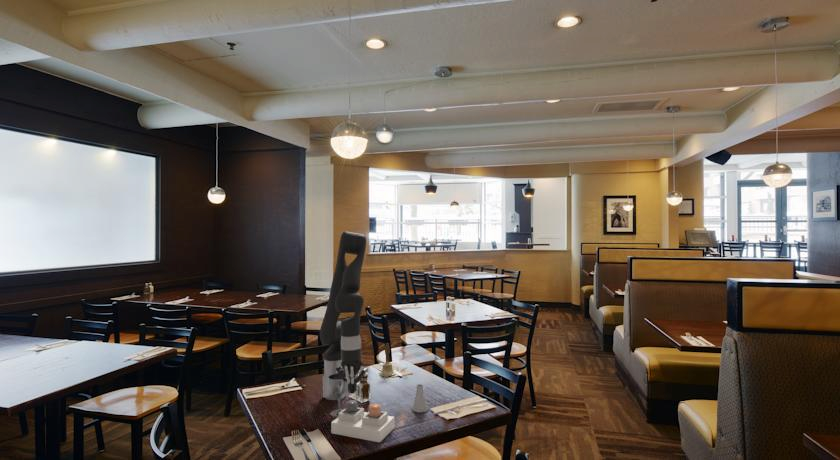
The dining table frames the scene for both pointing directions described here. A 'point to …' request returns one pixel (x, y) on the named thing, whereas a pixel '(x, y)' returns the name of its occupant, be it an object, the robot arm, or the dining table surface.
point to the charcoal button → (351, 406)
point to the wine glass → (337, 390)
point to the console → (363, 425)
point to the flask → (420, 400)
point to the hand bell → (387, 364)
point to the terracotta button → (374, 410)
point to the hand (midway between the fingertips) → (352, 392)
